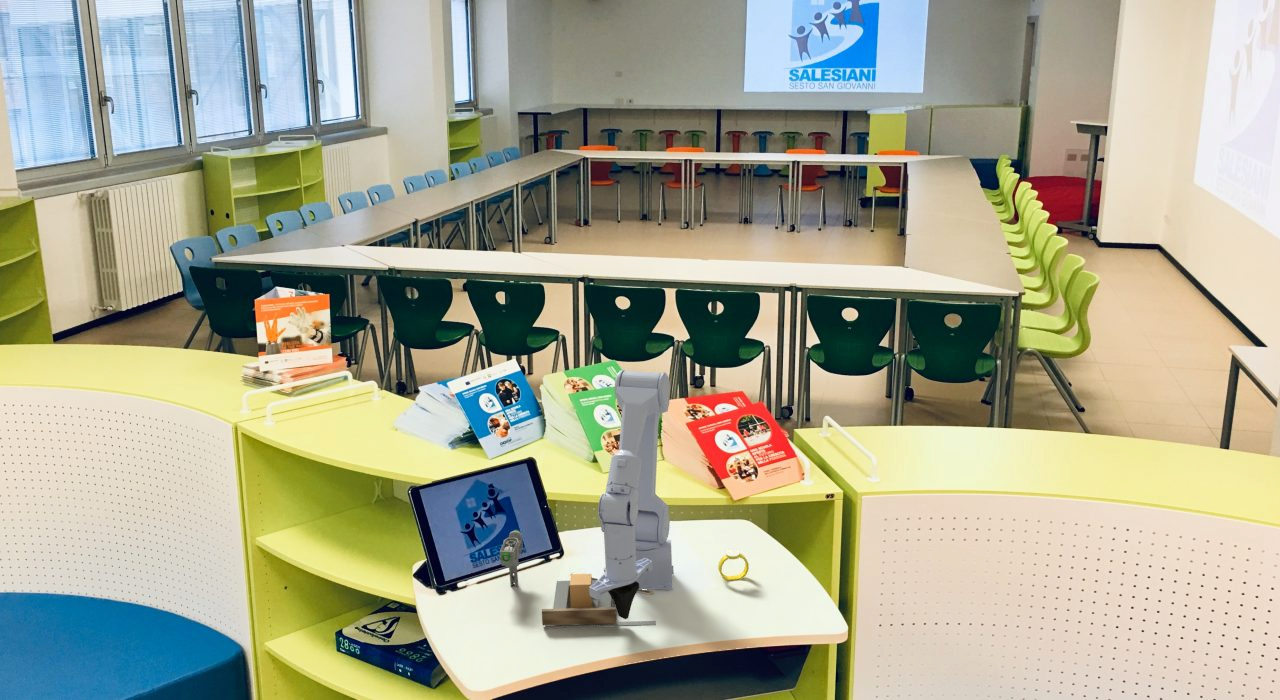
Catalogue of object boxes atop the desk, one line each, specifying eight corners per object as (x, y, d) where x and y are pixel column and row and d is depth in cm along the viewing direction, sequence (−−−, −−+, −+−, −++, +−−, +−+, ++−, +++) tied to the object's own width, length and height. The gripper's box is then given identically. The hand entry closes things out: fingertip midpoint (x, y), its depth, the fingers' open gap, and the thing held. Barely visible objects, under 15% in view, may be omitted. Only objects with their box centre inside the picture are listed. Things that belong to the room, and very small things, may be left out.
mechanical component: (526, 572, 226) (523, 528, 223) (516, 598, 216) (512, 553, 213) (512, 571, 226) (508, 528, 223) (501, 598, 217) (498, 553, 214)
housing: (654, 589, 218) (654, 578, 217) (655, 624, 206) (655, 612, 205) (550, 592, 218) (549, 581, 217) (544, 627, 206) (544, 615, 205)
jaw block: (592, 600, 214) (591, 573, 212) (592, 611, 210) (590, 584, 208) (572, 601, 214) (570, 574, 212) (571, 612, 210) (569, 585, 208)
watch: (721, 585, 220) (719, 558, 218) (718, 578, 222) (716, 552, 220) (750, 579, 220) (748, 553, 218) (747, 572, 223) (744, 547, 221)
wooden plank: (616, 620, 207) (616, 607, 206) (616, 623, 206) (615, 609, 205) (542, 622, 207) (541, 609, 206) (542, 625, 206) (541, 611, 205)
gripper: (633, 532, 209) (635, 594, 213) (576, 559, 200) (580, 624, 204) (659, 543, 204) (661, 607, 209) (602, 572, 195) (606, 639, 199)
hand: (623, 616), depth 206 cm, fingers closed
